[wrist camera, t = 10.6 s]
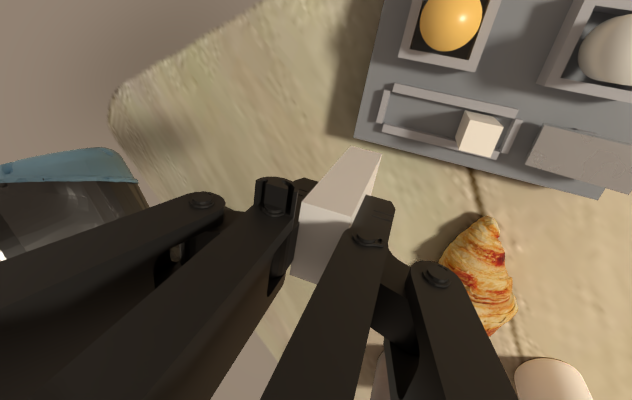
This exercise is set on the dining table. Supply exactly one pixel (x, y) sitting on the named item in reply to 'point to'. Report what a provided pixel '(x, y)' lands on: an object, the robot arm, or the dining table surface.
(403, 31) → the panel
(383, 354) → the pillar candle
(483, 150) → the slider knob
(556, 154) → the plate
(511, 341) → the dining table surface
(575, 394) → the bottle
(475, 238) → the croissant
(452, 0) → the amber button
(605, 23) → the white button
